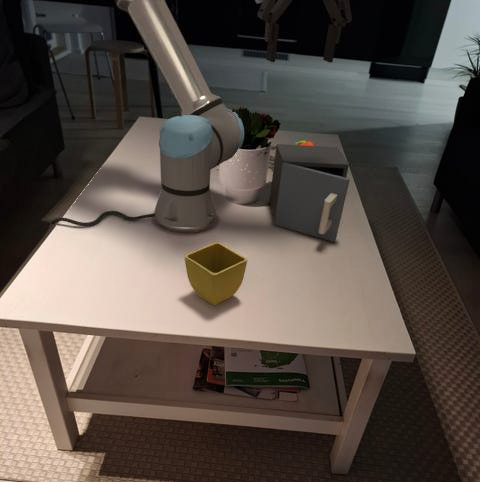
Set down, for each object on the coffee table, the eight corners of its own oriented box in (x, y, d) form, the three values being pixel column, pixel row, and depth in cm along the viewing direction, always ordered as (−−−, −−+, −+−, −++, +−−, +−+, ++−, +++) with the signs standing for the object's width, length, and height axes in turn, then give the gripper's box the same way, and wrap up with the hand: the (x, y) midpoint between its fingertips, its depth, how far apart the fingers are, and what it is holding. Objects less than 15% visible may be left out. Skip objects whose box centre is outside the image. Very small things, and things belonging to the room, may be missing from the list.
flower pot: (182, 293, 94) (182, 254, 88) (215, 278, 99) (217, 240, 93) (212, 315, 89) (214, 275, 83) (245, 298, 94) (249, 259, 88)
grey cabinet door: (327, 251, 111) (341, 188, 101) (265, 232, 116) (273, 170, 106) (335, 240, 115) (349, 178, 105) (275, 222, 120) (284, 162, 110)
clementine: (291, 165, 153) (294, 143, 149) (288, 157, 158) (291, 136, 154) (315, 167, 154) (319, 145, 149) (312, 159, 159) (315, 137, 155)
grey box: (335, 225, 122) (349, 164, 112) (274, 222, 120) (283, 161, 111) (325, 204, 131) (337, 147, 121) (269, 202, 130) (276, 143, 120)
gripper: (264, -77, 79) (252, 64, 92) (386, -63, 87) (359, 65, 100) (246, -78, 84) (238, 56, 97) (363, -64, 92) (341, 57, 106)
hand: (299, 61), depth 99 cm, fingers open, 13 cm apart
